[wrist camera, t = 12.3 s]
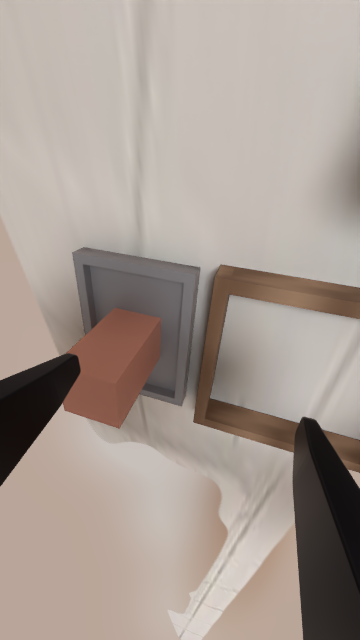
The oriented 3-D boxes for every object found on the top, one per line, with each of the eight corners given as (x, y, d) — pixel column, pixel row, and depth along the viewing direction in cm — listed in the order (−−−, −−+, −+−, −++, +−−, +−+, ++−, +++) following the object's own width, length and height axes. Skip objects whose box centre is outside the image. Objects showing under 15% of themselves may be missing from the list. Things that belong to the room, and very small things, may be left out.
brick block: (161, 318, 22) (115, 383, 16) (160, 357, 25) (119, 428, 18) (114, 307, 23) (53, 365, 17) (117, 346, 26) (64, 410, 19)
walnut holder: (505, 312, 15) (539, 335, 13) (382, 454, 24) (392, 482, 22) (221, 264, 19) (215, 277, 17) (199, 402, 27) (193, 422, 25)
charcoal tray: (200, 267, 20) (195, 274, 18) (185, 395, 27) (181, 406, 26) (83, 247, 22) (72, 252, 21) (100, 371, 29) (92, 380, 28)
